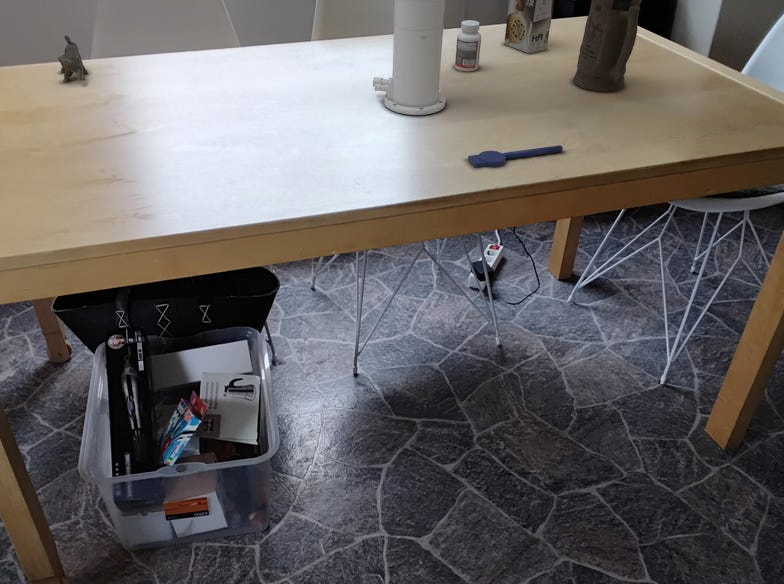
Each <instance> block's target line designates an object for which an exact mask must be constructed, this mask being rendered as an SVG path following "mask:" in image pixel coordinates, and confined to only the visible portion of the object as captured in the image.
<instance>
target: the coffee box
mask: <svg viewBox="0 0 784 584" xmlns="http://www.w3.org/2000/svg"><path fill="white" fill-rule="evenodd" d="M554 4H555V0H508V8H507V17H506V25H505V34H504V41H503V45H504V46H508V47H510V48H514V49H515V50H518V51H521V52H524V53H526V54H533V53H538V52H542V51H546V50H547V48H548V42H549V35H550V29H551V24H552V18H553V11H554Z"/></svg>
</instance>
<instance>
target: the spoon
mask: <svg viewBox="0 0 784 584" xmlns="http://www.w3.org/2000/svg"><path fill="white" fill-rule="evenodd" d="M563 149H564V148H563V146H562V145H560V144H559V145H552V146H544V147H537V148H530V149H528V148H527V149H522V150H514V151H507V152H500V151H498V150H484V151H483V150H482V151H481V152H479V153H478V154H472V155H468V156H467V161H468V163H470V165H472V166H473V167H474V168H480V167H489V168H498V167H502V166H504V165H505V164H506V160H512V159H520V158H526V157H534V156H540V155H548V154H556V153H561V152H562V151H563Z"/></svg>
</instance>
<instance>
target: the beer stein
mask: <svg viewBox="0 0 784 584" xmlns="http://www.w3.org/2000/svg"><path fill="white" fill-rule="evenodd" d="M642 2H643V0H632V1H631V5H630V9H629V11H618V10H612V4H613V0H591V2H590V8H589V13H588V15H587V18H586V22H585V26H584V31H583V37H582V40H581V44H580V47H579V54H578V59H577V64H576V72H575V74H574V76H573V83H574V84H575V85H576V86H578V87H580V88H582V89H584V90H588V91H591V92H599V93H600V92H601V93H603V92H606V93H607V92H608V93H610V92H615V91H619V90H621V89H622V88H624V86H625V74H626V72H627V63H628V61H629V60H630V57H631V54H632V53H633V49H634V47H635V43H636V40H637V35H638V27H639V14H640V11H641V7H640V5H641V3H642Z"/></svg>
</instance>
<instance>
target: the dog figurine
mask: <svg viewBox="0 0 784 584" xmlns="http://www.w3.org/2000/svg"><path fill="white" fill-rule="evenodd" d="M64 40H65V41H66V43H67V44H66V45H65V48H64V53H63V54H61V55H60V56H58V57H57V61H58V62H59V63H60V65H61V69H60V73H61V74H63V82H64V83H67V82H69V80H70V78H71V77H72V76H73V75H74V73H77V72H79V76H80V77H79V79H80V81H86V77H85V75H87V74H89V72H88V70H87V68H86V67H85V66H84V63H83V60H82V56H81V54H80V52H79V47H78V45H77V43H76V42H74V41H72V39H71V38H70V37H69V36H68V35H66V34H65V35H64Z"/></svg>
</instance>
